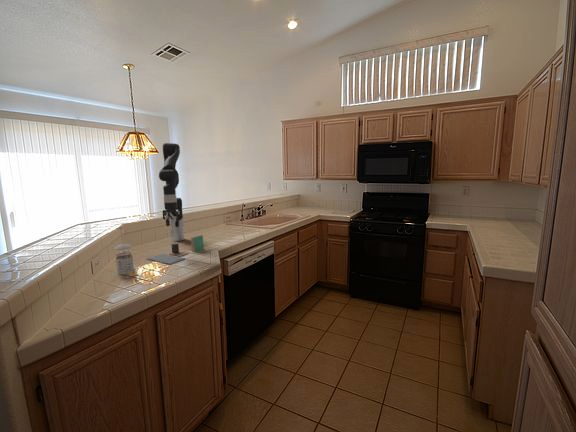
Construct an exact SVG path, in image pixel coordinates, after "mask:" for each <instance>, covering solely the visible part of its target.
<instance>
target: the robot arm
mask: <svg viewBox="0 0 576 432" xmlns="http://www.w3.org/2000/svg"><path fill="white" fill-rule="evenodd" d="M162 155H163V167H161V169H160V170H159V173H158V178H159V181H162V182H165V185H163V186H162V189H163V203H164V210H162V219H163V220H164V221H165V226H166V227H169V226H170V227H171V228H170V239H171V241H173V242H181V241H185V227H184V215H183V200H182V198H181V197H177V193H176V189H177V188H178V185H179V183H180V177H179V171H178V170H177V169H176V166H177V162H178V160H179V157H180V155H181V148H180V145H179V144H178V143H175V142H174V143H172V142H164V143H163V144H162Z"/></svg>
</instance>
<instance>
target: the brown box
mask: <svg viewBox="0 0 576 432" xmlns="http://www.w3.org/2000/svg"><path fill="white" fill-rule="evenodd" d="M179 247H180V245H179V243H176V242H175V243H172V244H171V253H169V255H171V256H176V257H181V258H182V257H184V256H186V255H189V254H190V253H189V252H185V251H180V248H179Z"/></svg>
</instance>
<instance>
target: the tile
mask: <svg viewBox="0 0 576 432" xmlns="http://www.w3.org/2000/svg"><path fill="white" fill-rule="evenodd" d="M190 241H191V252H192V253H197V252H199V251H202V250H204V235H203V234H197V235H195V236H194V235H193V236H191V237H190Z"/></svg>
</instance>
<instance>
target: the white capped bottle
mask: <svg viewBox="0 0 576 432" xmlns="http://www.w3.org/2000/svg"><path fill="white" fill-rule="evenodd" d="M122 229H124V228H123V226H119V227H118V230H122ZM120 236H121V238H123V233H122V231H120ZM121 241H122V242H121V243H120V244H118V245H116V246H115V247H114V250H115V251H122V252H120V253H117V254H116V258H115V261H116V263H115V264H116V272H115V275H121V274H122V275H127V274H131V273H133V272H136V268H135V266H134V261H133V260H134V259H133V255H132V252H130V251H129V250H127V249H130V248H131V247H132V245H131V244H129V243H123V242H124V241H123V240H121ZM125 250H127V252H126V251H125Z"/></svg>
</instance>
